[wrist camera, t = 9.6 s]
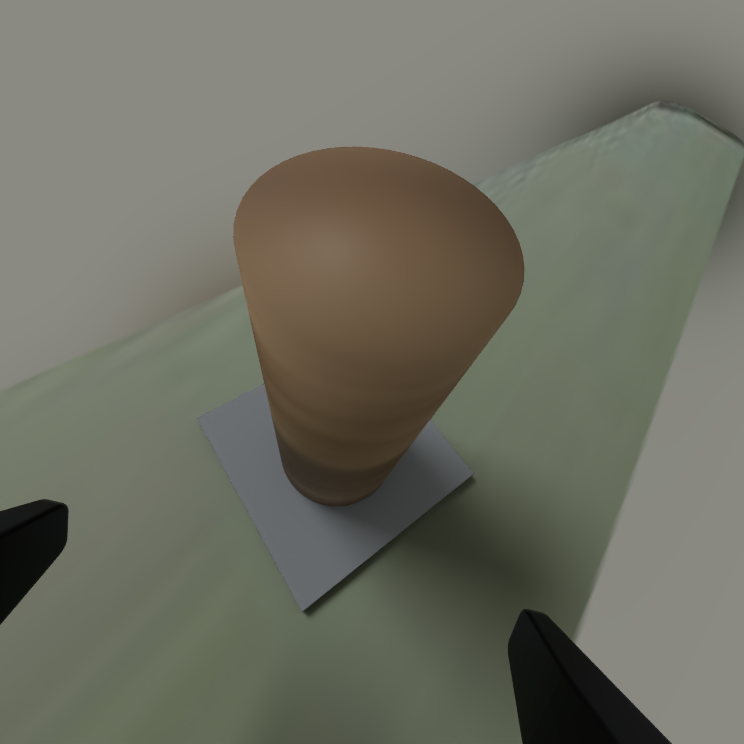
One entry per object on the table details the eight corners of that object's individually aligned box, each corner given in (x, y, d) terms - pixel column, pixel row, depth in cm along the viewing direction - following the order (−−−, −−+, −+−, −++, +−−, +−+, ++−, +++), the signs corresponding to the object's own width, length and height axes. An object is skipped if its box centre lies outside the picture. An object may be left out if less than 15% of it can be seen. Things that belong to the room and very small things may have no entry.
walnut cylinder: (398, 502, 16) (562, 358, 6) (278, 509, 15) (215, 355, 5) (386, 396, 18) (487, 159, 8) (282, 397, 18) (246, 134, 7)
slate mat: (470, 475, 17) (474, 473, 17) (302, 611, 14) (301, 611, 14) (360, 337, 20) (361, 333, 20) (199, 421, 17) (196, 417, 17)
